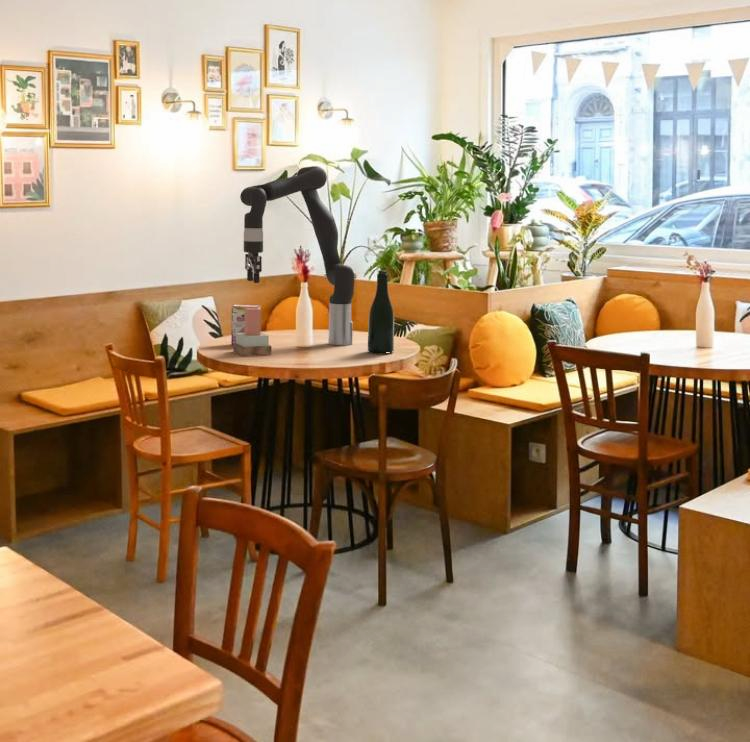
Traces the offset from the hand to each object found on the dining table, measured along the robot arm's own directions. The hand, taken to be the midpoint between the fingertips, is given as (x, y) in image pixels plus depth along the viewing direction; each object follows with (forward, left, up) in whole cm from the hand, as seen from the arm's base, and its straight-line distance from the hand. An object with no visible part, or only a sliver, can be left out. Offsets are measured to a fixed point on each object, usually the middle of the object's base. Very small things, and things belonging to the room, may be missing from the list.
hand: (253, 281), depth 418 cm
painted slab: (+1, +1, -24) cm, 25 cm away
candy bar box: (-3, -20, -28) cm, 35 cm away
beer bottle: (-50, +11, -28) cm, 58 cm away
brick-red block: (+1, +1, -20) cm, 20 cm away
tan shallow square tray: (0, 0, -28) cm, 29 cm away
